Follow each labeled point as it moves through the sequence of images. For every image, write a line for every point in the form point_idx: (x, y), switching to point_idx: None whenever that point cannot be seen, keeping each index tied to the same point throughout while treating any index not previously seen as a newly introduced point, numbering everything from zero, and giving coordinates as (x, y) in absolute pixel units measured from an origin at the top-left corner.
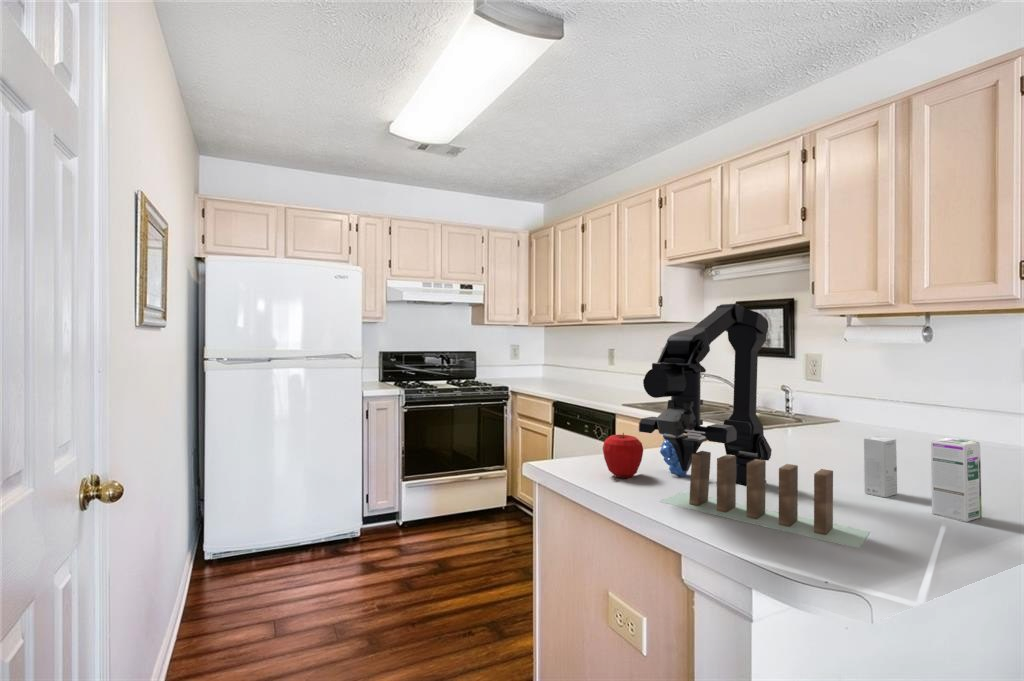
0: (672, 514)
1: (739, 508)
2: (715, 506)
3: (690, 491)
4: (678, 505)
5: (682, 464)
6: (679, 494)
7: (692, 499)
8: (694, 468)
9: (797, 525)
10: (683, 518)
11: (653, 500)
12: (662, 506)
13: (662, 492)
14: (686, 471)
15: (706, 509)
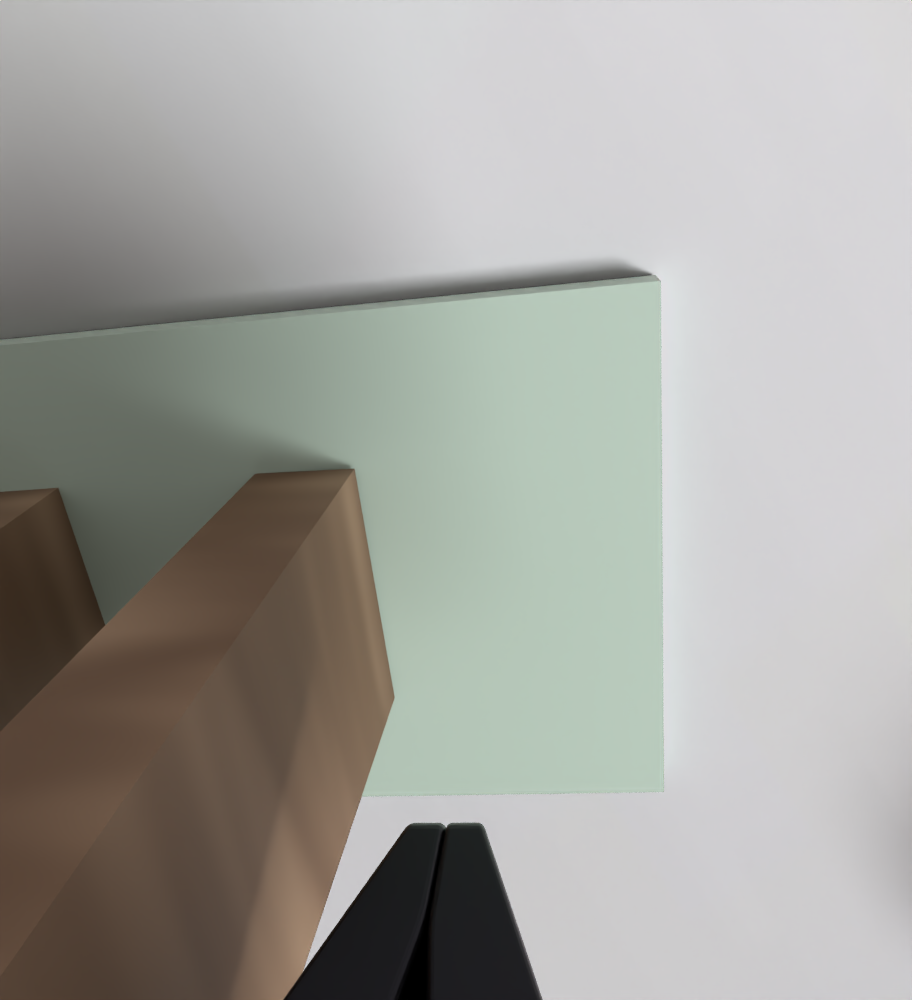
0: (325, 45)
1: None
2: None
3: (299, 535)
4: (407, 331)
5: (452, 914)
6: (627, 698)
7: (299, 494)
8: (63, 784)
9: None
10: (149, 15)
11: (799, 377)
12: (591, 246)
13: (854, 709)
14: (417, 835)
15: (134, 441)
